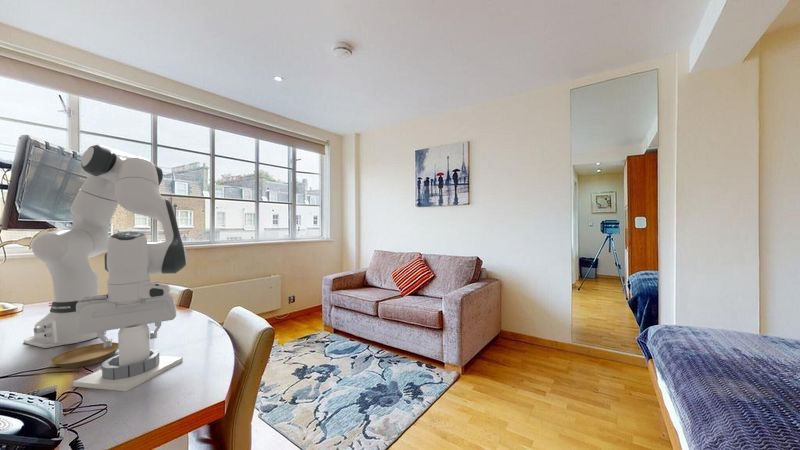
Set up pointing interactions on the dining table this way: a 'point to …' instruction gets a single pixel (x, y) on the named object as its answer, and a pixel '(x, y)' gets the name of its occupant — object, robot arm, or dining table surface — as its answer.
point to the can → (133, 344)
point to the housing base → (127, 381)
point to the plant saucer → (84, 355)
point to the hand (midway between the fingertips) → (131, 342)
